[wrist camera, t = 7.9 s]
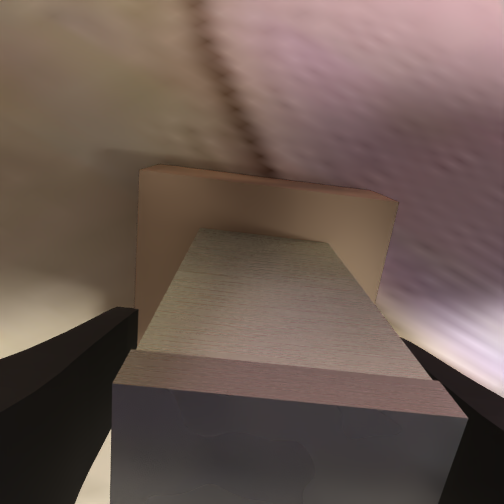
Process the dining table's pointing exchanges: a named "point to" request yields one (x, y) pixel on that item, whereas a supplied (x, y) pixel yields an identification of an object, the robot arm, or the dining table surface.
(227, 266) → the tea tin
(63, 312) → the dining table surface
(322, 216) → the tan flat square block
